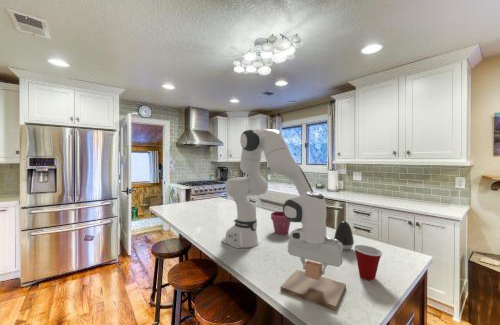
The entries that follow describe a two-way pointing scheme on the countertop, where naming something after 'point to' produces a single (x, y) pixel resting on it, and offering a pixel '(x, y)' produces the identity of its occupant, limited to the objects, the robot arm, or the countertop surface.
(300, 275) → the walnut board
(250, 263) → the countertop surface
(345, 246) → the black glossy tall piece
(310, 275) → the cube
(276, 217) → the plant pot
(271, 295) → the countertop surface
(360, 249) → the plastic cup
